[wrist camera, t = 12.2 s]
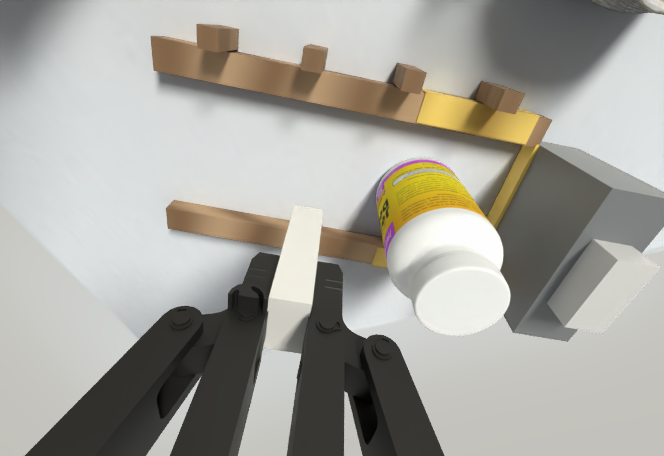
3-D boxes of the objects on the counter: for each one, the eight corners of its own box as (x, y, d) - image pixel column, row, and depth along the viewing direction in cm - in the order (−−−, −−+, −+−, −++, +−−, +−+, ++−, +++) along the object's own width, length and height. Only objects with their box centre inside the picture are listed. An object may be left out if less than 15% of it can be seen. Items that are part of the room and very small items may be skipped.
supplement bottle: (367, 165, 26) (383, 264, 15) (452, 145, 25) (536, 235, 14) (383, 234, 29) (405, 356, 18) (459, 219, 28) (530, 339, 17)
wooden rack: (175, 220, 29) (153, 245, 26) (160, 12, 21) (124, 8, 18) (462, 271, 31) (477, 300, 28) (550, 95, 23) (586, 107, 20)
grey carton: (468, 255, 30) (522, 356, 21) (525, 138, 25) (637, 205, 15) (511, 262, 30) (585, 366, 21) (579, 149, 25) (721, 221, 15)
